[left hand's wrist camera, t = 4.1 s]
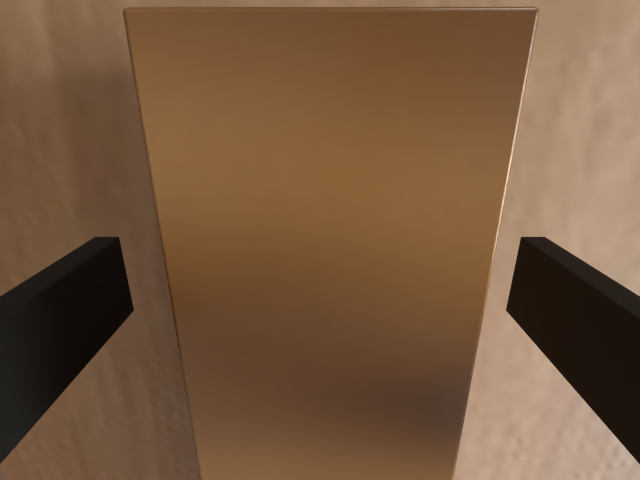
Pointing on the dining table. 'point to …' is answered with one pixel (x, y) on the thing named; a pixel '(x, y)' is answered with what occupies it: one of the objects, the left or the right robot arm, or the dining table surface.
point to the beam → (329, 224)
